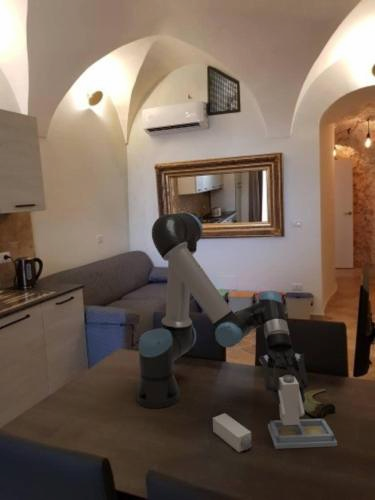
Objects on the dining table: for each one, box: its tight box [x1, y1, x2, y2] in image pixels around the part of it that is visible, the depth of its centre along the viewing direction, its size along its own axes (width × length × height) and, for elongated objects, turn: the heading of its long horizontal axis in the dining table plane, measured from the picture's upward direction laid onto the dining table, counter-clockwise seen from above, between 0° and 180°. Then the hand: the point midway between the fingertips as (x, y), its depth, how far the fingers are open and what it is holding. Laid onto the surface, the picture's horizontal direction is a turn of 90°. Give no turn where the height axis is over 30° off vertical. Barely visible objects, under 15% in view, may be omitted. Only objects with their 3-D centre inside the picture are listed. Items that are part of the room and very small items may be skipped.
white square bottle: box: [278, 374, 300, 425], centre depth 110 cm, size 4×4×13 cm
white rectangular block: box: [212, 412, 253, 453], centre depth 112 cm, size 13×4×4 cm, turn 32°
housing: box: [267, 418, 338, 450], centre depth 112 cm, size 17×10×3 cm, turn 90°
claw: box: [303, 388, 336, 419], centre depth 129 cm, size 20×10×3 cm, turn 173°
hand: (292, 415), depth 107 cm, fingers closed on white square bottle, 4 cm apart
